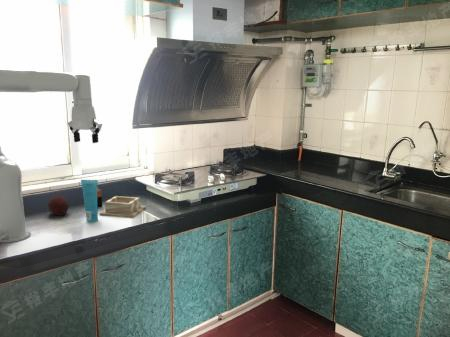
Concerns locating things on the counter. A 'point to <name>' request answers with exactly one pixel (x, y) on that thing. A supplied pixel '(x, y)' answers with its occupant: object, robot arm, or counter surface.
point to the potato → (58, 205)
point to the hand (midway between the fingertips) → (86, 142)
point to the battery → (99, 198)
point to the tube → (90, 199)
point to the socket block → (122, 207)
